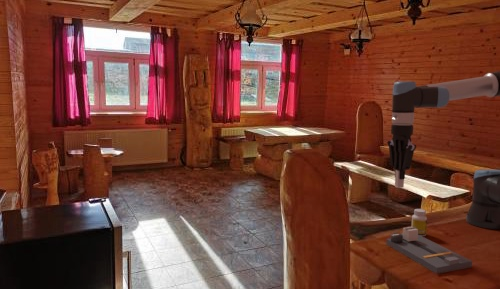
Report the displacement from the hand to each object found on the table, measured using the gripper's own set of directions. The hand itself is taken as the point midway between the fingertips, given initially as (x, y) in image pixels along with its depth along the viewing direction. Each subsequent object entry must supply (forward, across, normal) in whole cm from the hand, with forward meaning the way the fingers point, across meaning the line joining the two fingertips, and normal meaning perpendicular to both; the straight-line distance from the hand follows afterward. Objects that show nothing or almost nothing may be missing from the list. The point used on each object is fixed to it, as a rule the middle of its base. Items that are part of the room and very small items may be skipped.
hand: (399, 187), depth 141 cm
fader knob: (+18, +7, 0) cm, 19 cm away
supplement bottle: (+20, -1, +11) cm, 23 cm away
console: (+20, +15, 0) cm, 25 cm away
